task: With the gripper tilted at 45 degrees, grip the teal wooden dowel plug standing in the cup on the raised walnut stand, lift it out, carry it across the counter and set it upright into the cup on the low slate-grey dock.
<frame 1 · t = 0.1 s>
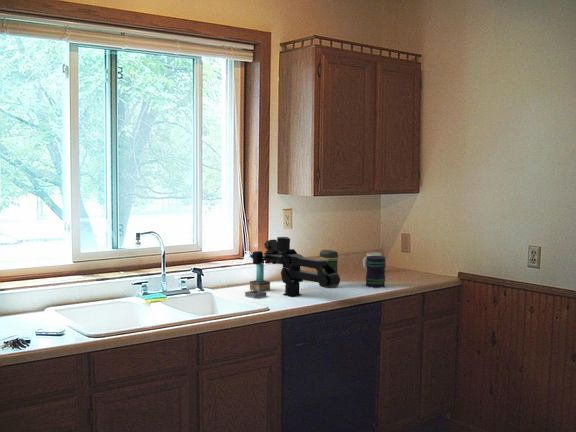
hand: (257, 254, 322), 17 cm above the worktop, tool horizontal, fingers open, 9 cm apart
lower dock: (255, 296, 302), on the worktop
dowel plug: (259, 283, 318), point 3 cm above the worktop, touching upper stand
coffee jar: (328, 286, 329), on the worktop
mug: (371, 272, 374), on the worktop
upper stand: (259, 289, 318), on the worktop
storage jar: (375, 286, 332), on the worktop
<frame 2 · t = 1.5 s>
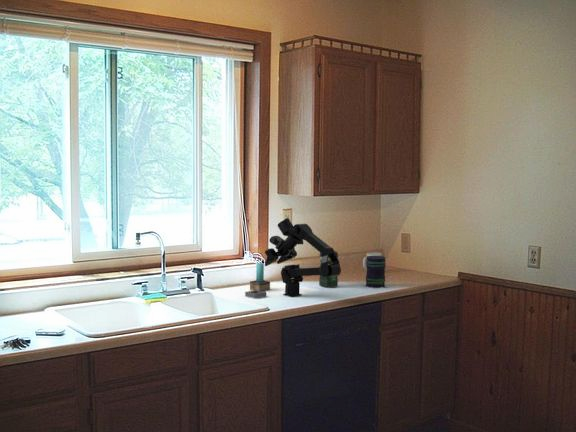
hand: (271, 264, 312), 13 cm above the worktop, tool tilted 45°, fingers open, 9 cm apart
nothing on the worktop moved.
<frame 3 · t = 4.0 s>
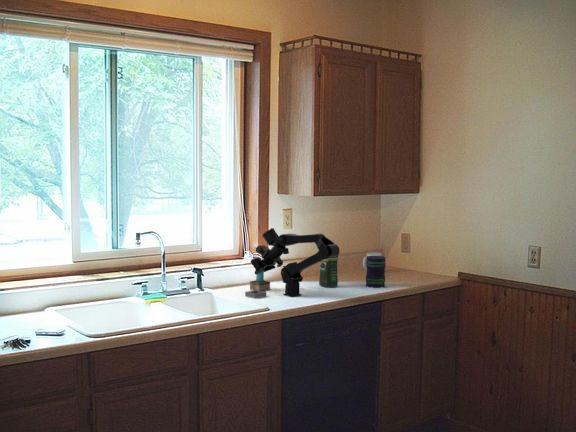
hand: (257, 273, 318), 8 cm above the worktop, tool tilted 45°, fingers closed on dowel plug, 4 cm apart
dowel plug: (259, 283, 318), point 3 cm above the worktop, touching gripper, upper stand
everything else where it was.
when the fingers open (7 cm above the worktop, at t = 8.1 s): dowel plug drops 1 cm, resting on lower dock.
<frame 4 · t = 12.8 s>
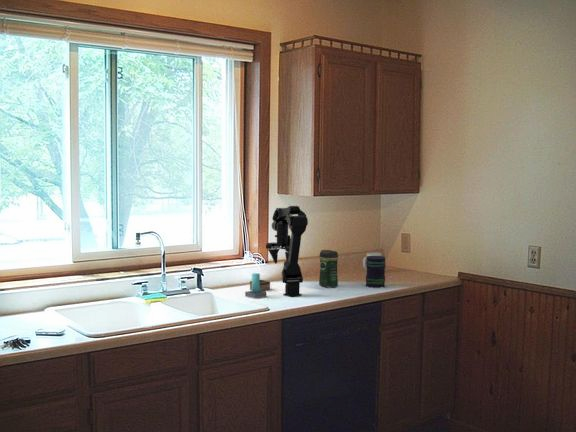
hand: (282, 264, 321), 12 cm above the worktop, tool pointing down, fingers open, 9 cm apart
dowel plug: (255, 295, 302), point 1 cm above the worktop, touching lower dock
everything else where it was.
at the end: dowel plug 0.0 cm off-centre on the lower dock, point 0.6 cm above the lower dock's base; dowel plug tilted 0°; the gripper is holding nothing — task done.
